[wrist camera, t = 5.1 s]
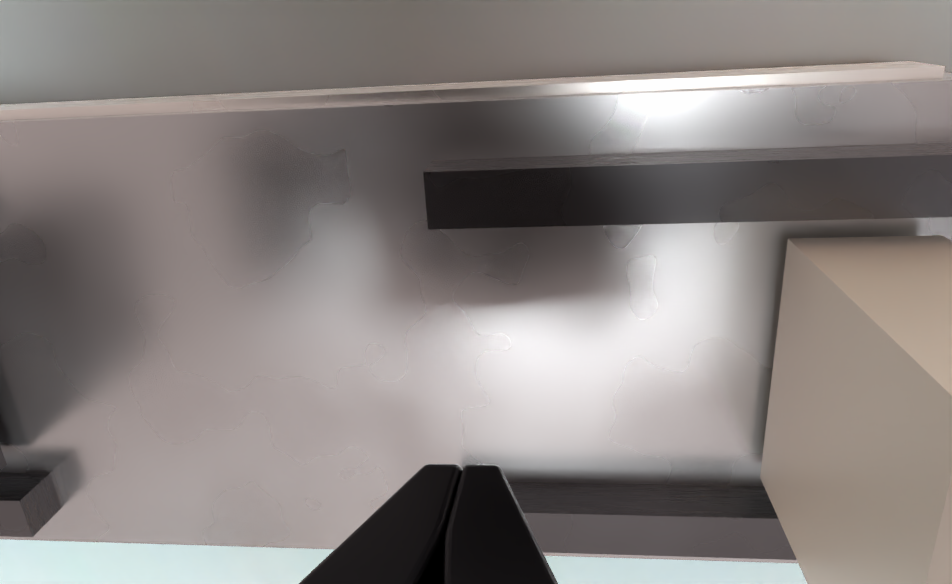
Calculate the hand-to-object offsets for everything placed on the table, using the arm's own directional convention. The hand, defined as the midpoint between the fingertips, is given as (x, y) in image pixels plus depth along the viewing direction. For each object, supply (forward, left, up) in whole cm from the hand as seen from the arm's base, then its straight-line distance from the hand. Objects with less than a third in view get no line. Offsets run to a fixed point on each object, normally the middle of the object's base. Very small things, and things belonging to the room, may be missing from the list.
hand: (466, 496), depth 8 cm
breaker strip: (+2, 0, -6) cm, 6 cm away
